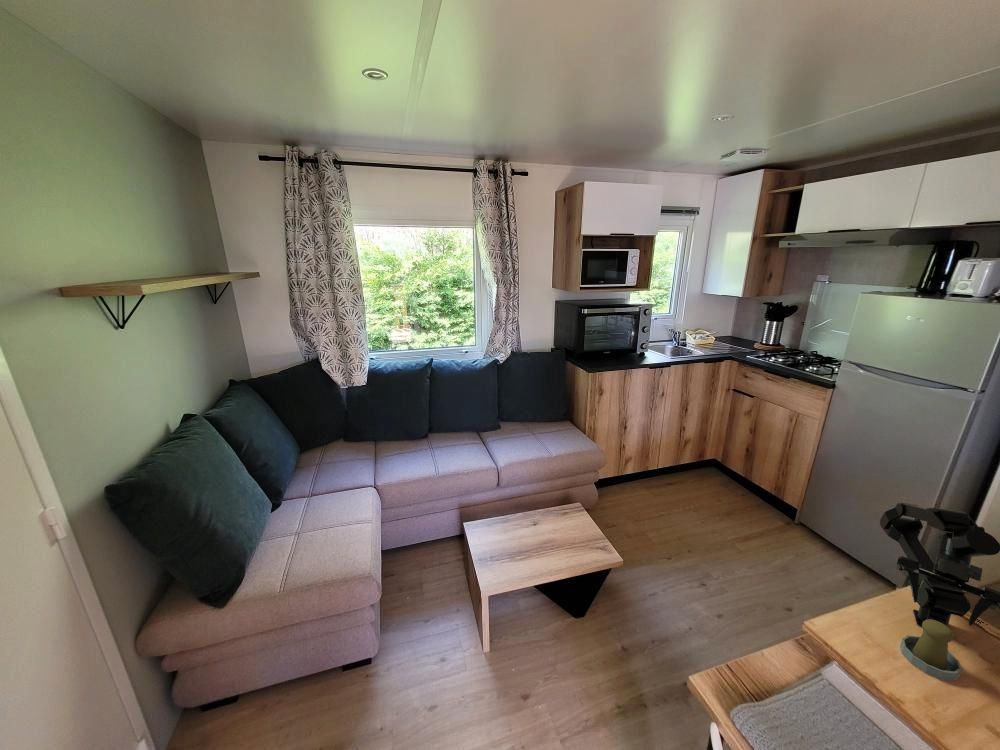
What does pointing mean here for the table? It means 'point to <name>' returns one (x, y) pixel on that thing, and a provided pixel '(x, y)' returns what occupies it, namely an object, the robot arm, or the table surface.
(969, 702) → the table surface
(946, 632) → the cork
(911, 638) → the gray bowl
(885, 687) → the table surface
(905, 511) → the robot arm
